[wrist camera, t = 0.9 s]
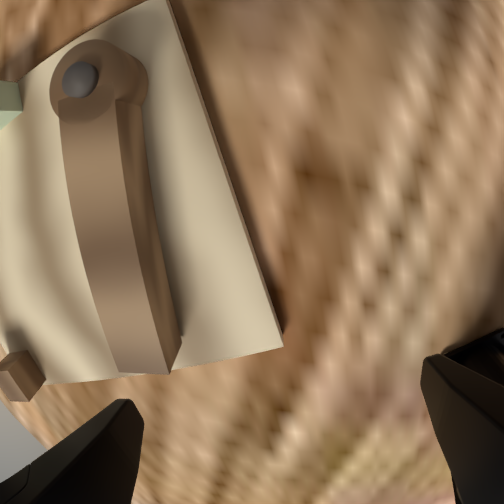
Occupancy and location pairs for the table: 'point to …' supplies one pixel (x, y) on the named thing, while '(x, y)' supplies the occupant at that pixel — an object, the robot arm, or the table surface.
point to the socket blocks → (9, 102)
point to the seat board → (167, 216)
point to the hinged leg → (115, 202)
